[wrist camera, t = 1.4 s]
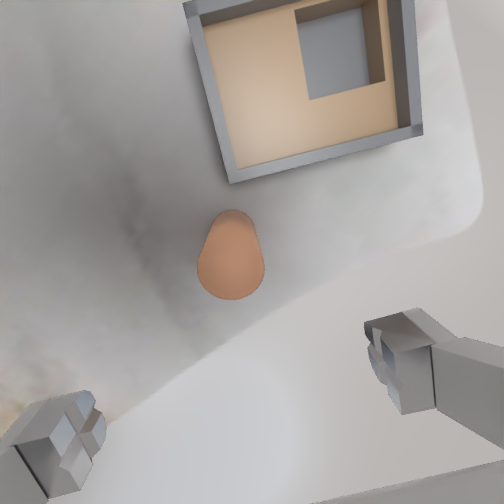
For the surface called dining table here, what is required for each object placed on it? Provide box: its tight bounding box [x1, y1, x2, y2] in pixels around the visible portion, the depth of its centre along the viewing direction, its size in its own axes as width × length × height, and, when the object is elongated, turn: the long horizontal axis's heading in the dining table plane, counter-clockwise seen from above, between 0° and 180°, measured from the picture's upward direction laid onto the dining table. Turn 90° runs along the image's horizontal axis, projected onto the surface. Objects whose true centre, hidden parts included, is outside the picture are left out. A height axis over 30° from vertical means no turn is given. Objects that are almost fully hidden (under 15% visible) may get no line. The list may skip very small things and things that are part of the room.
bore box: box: [182, 0, 423, 184], centre depth 22 cm, size 14×11×5 cm
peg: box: [197, 210, 265, 300], centre depth 22 cm, size 4×4×10 cm
